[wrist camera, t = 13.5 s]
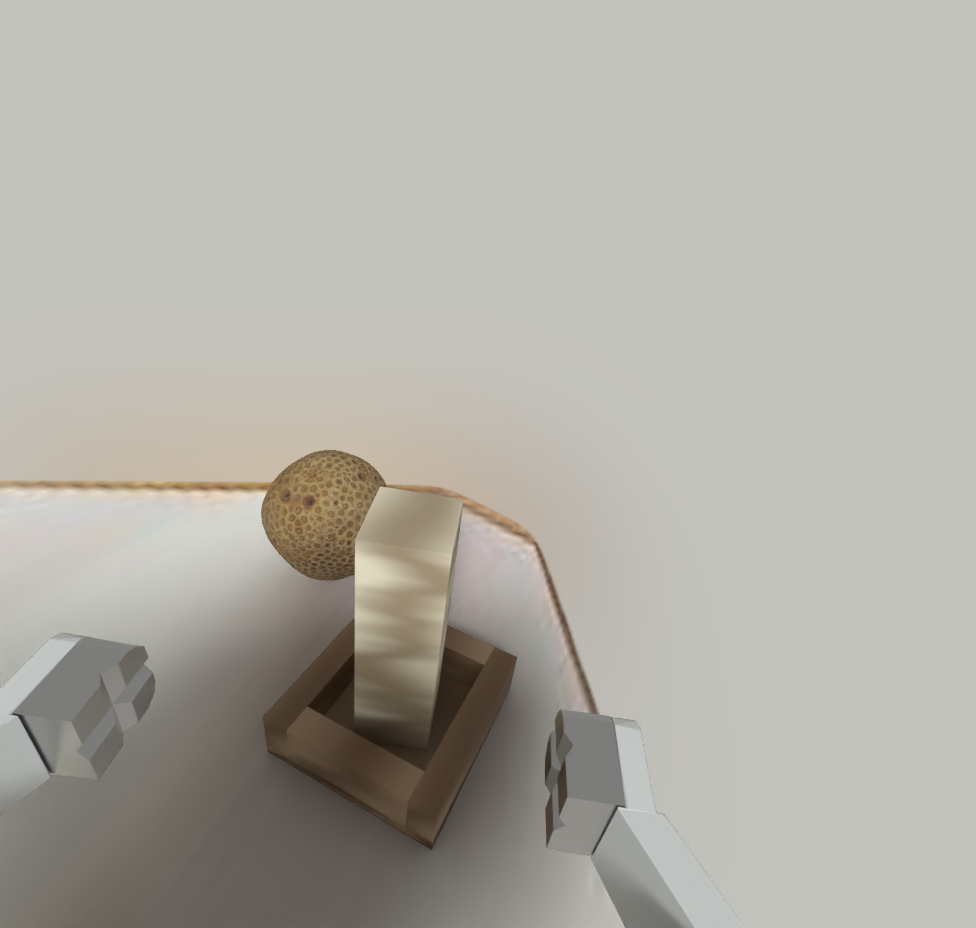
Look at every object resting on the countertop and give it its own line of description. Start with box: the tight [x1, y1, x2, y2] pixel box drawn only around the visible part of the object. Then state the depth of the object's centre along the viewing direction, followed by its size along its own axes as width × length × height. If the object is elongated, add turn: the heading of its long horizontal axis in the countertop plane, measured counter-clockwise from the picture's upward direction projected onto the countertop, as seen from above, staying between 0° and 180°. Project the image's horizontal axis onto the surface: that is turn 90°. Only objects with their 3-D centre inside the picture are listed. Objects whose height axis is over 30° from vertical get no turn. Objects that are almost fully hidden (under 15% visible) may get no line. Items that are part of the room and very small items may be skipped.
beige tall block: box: [354, 486, 464, 751], centre depth 27 cm, size 4×4×14 cm
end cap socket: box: [263, 618, 517, 849], centre depth 30 cm, size 10×10×3 cm
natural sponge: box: [261, 450, 386, 580], centre depth 38 cm, size 9×9×10 cm
